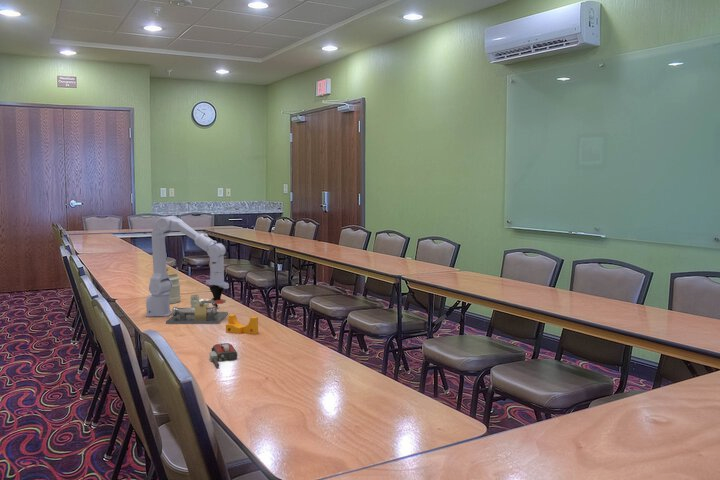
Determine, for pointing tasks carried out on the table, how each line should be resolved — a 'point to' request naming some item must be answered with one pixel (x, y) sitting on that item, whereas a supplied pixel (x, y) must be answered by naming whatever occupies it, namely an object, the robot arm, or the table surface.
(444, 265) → the table surface
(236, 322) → the pipe clamp
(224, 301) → the valve lever
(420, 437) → the table surface
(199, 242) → the robot arm
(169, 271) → the jar
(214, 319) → the pipe stand
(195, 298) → the valve
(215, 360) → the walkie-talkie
